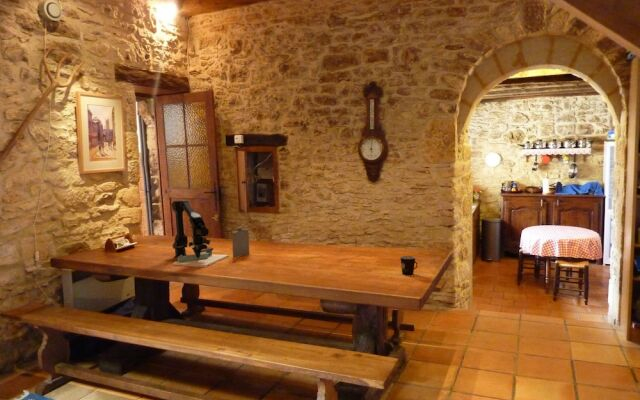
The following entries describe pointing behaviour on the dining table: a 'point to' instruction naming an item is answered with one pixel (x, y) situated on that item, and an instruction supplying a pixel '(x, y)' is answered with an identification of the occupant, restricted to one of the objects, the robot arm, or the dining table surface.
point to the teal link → (192, 257)
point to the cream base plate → (202, 261)
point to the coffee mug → (408, 265)
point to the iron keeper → (207, 251)
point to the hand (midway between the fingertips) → (198, 258)
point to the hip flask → (240, 242)
